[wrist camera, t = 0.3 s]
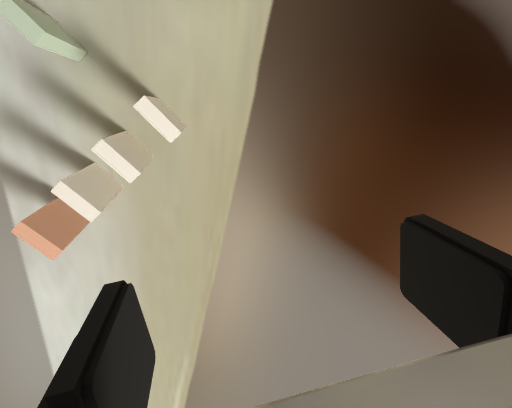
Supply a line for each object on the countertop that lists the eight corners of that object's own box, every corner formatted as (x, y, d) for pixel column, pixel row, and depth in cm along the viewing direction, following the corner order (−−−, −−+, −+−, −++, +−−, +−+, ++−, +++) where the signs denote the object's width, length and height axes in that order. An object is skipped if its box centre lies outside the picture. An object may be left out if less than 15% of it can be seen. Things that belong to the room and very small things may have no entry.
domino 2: (64, 193, 42) (20, 221, 32) (94, 216, 44) (62, 250, 34) (56, 201, 42) (10, 231, 32) (87, 224, 44) (52, 260, 34)
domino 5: (158, 98, 41) (144, 95, 30) (185, 126, 42) (181, 132, 32) (149, 106, 41) (133, 106, 31) (177, 134, 43) (170, 143, 32)
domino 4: (126, 130, 41) (101, 138, 31) (154, 157, 43) (140, 173, 33) (117, 138, 41) (91, 149, 31) (146, 165, 43) (130, 183, 33)
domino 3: (94, 162, 42) (60, 180, 31) (124, 187, 43) (101, 212, 33) (86, 170, 42) (50, 191, 32) (116, 195, 44) (90, 222, 33)
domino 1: (51, 17, 36) (-8, -19, 26) (87, 52, 38) (45, 32, 27) (42, 27, 36) (-20, -5, 26) (78, 61, 38) (33, 45, 28)
